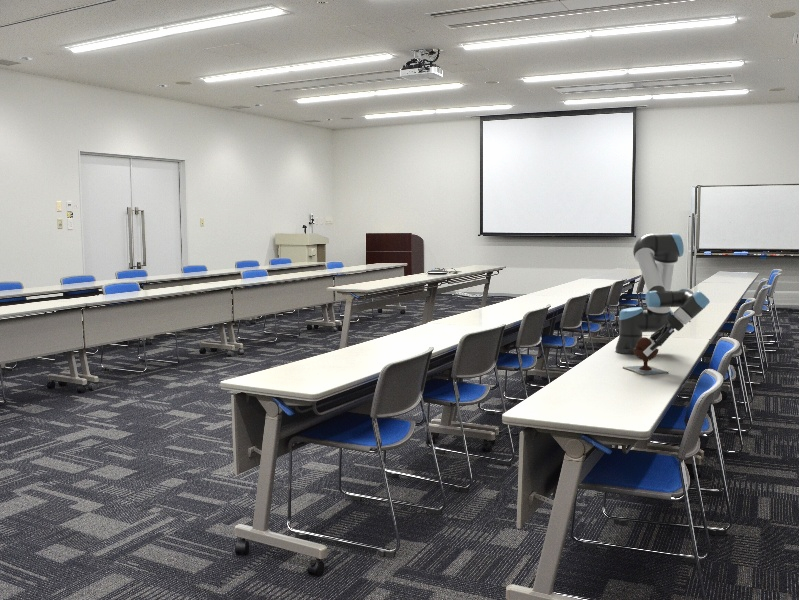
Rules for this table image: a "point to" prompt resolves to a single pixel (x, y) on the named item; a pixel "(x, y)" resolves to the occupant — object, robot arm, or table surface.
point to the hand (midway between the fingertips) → (643, 351)
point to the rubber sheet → (644, 372)
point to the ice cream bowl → (638, 351)
